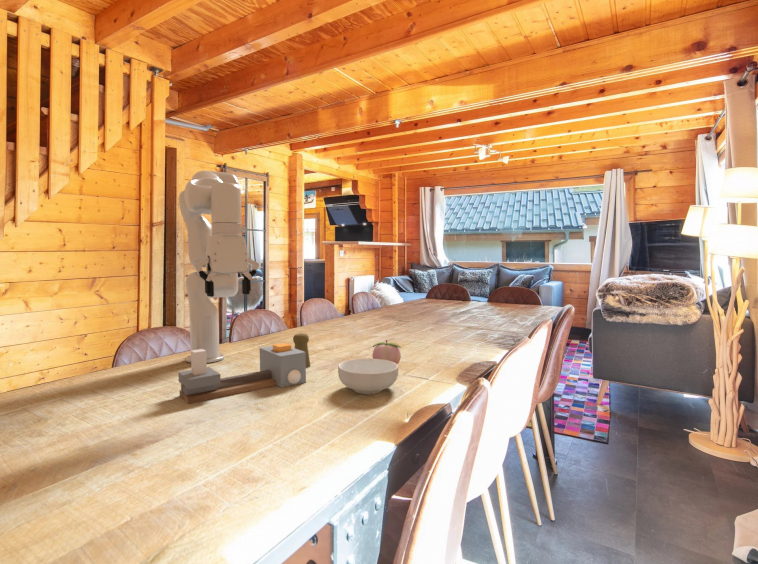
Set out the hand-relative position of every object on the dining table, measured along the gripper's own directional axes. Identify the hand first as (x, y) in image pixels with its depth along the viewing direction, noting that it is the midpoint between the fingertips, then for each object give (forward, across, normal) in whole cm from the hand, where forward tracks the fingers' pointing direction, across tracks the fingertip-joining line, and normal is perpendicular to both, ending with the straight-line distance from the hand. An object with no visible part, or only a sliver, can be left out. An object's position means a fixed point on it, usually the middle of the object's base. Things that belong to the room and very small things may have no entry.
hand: (228, 295), depth 114 cm
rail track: (+27, -1, -3) cm, 27 cm away
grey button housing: (+27, -17, -3) cm, 32 cm away
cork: (+27, -29, -12) cm, 42 cm away
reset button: (+20, -17, -3) cm, 26 cm away
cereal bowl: (+27, -30, +22) cm, 46 cm away
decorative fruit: (+27, -48, +10) cm, 56 cm away
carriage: (+25, +7, -4) cm, 26 cm away
